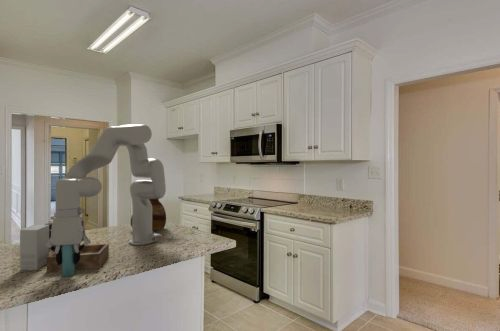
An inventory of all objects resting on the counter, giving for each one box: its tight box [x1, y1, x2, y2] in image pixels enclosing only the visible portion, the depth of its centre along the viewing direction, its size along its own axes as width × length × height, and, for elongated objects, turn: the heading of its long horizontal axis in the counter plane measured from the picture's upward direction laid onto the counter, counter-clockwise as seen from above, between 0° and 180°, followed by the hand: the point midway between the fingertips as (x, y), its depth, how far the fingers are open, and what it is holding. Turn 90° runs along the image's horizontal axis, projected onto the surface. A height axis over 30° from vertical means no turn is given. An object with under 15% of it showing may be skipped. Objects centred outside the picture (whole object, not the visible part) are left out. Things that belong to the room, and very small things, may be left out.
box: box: [46, 243, 110, 273], centre depth 118 cm, size 18×14×6 cm
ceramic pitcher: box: [130, 199, 167, 232], centre depth 175 cm, size 20×20×30 cm
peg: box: [61, 245, 76, 278], centre depth 106 cm, size 4×4×12 cm
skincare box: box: [19, 224, 50, 271], centre depth 114 cm, size 8×7×16 cm
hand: (68, 262), depth 106 cm, fingers open, 4 cm apart
